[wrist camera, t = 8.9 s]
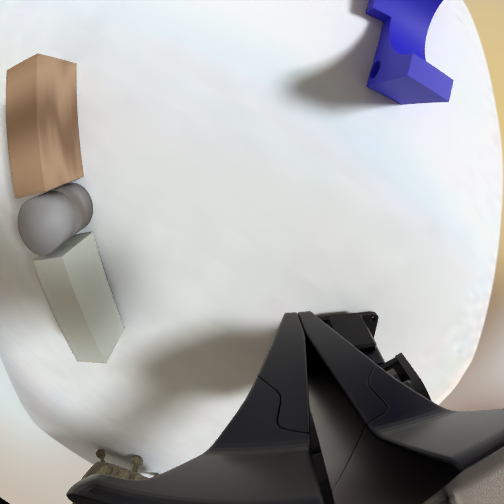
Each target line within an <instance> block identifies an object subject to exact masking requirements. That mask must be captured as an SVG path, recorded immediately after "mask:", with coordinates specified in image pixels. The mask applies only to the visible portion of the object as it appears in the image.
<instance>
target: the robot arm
mask: <svg viewBox="0 0 504 504" xmlns="http://www.w3.org/2000/svg"><path fill="white" fill-rule="evenodd" d="M372 317H374V318H372ZM371 318H372V319H371ZM377 322H378V316H377V314H376V313H375V312H368V313H358V314H349V315H339V316H332V317H321V318H318V317H317V316H316V315H314V314H313V313H312V312H310V311H306V312H299V313H298V314H297V313H296V312H293V313H285V314H284V316H283V318H282V321H281V323H280V325H279V328H278V330H277V332H276V335H275V337H274V339H273V342H272V344H271V346H270V349H269V351H268V353H267V355H266V358H265V360H264V362H263V364H262V367H261V369H260V371H259V373H258V376H257V378H256V380H255V382H254V384H253V386H252V388H251V390H250V392H249V394H248V396H247V398H246V399H245V401H244V402H243V404H242V405H241V407H240V409H239V410H238V412H237V413H236V414H235V416H234V417H233V419H232V420H231V421H230V423H229V424H228V425H227V427H226V428H225V429H224V431H223V432H222V434H221V435H220V436H219V438H218V439H217V440H216V441H215V443H214V444H213V445H212V446H211V447H210V448H209V449H208V450H207V451H206V452H204V453H203V454H202V455H200V456H198V457H196V458H194V459H192V460H190V461H188V462H186V463H184V464H182V465H180V466H178V467H175V468H173V469H171V470H169V471H167V472H165V473H162V474H160V475H158V476H155V477H152V478H149V479H142V480H129V479H122V478H118V477H114V476H109V475H104V474H93V475H90V476H88V477H86V478H84V479H82V480H80V481H79V482H77V483H76V484H74V485H73V486H72V487H71V488H70V489H69V491H68V492H67V497H68V498H69V499H70V500H71V501H72V502H73V503H75V504H504V409H495V410H481V411H451V410H448V409H445V408H442V407H441V406H439V405H437V404H435V403H434V402H432V401H431V399H430V396H429V394H428V392H427V390H426V388H425V386H424V384H423V382H422V381H421V379H420V378H419V376H418V375H417V373H416V372H415V371H414V369H413V368H412V366H411V365H410V364H409V362H408V361H407V360H406V358H405V357H404V355H403V354H402V353H400V354H398V355H396V356H395V358H393V359H391V360H389V361H387V362H385V361H384V359H383V357H382V355H381V353H380V352H379V350H378V348H377V346H376V342H375V340H374V335H375V331H376V326H377ZM0 504H9V503H8V502H6V501H5V500H3V499H2V498H0Z"/></svg>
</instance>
